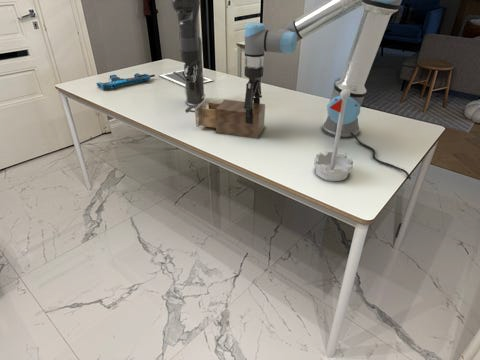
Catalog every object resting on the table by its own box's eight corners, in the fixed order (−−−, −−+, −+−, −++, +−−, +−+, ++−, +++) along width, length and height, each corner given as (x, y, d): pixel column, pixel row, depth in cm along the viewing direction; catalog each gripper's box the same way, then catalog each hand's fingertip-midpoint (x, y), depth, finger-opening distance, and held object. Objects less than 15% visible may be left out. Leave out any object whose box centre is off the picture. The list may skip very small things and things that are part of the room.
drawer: (184, 125, 152) (182, 106, 147) (193, 116, 160) (191, 98, 155) (233, 132, 146) (233, 112, 141) (240, 122, 155) (240, 104, 150)
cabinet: (216, 132, 148) (215, 108, 142) (224, 122, 157) (224, 99, 151) (257, 138, 144) (258, 113, 138) (264, 127, 153) (265, 104, 147)
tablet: (159, 75, 221) (159, 75, 220) (185, 70, 232) (185, 69, 231) (186, 87, 200) (186, 86, 200) (213, 80, 211) (213, 80, 211)
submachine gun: (140, 68, 226) (159, 74, 209) (142, 73, 228) (160, 80, 211) (89, 77, 207) (104, 85, 190) (90, 84, 209) (106, 92, 192)
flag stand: (336, 160, 127) (350, 81, 111) (358, 178, 117) (377, 93, 101) (306, 167, 123) (316, 85, 107) (326, 186, 113) (340, 99, 97)
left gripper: (187, 44, 144) (191, 85, 153) (174, 51, 133) (178, 94, 142) (204, 45, 142) (206, 86, 151) (191, 52, 131) (195, 96, 141)
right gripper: (252, 58, 144) (251, 106, 156) (236, 73, 125) (236, 127, 137) (269, 59, 143) (267, 108, 154) (255, 75, 123) (254, 129, 135)
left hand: (193, 90), depth 147 cm, fingers closed
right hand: (252, 117), depth 146 cm, fingers closed on cabinet, 12 cm apart
